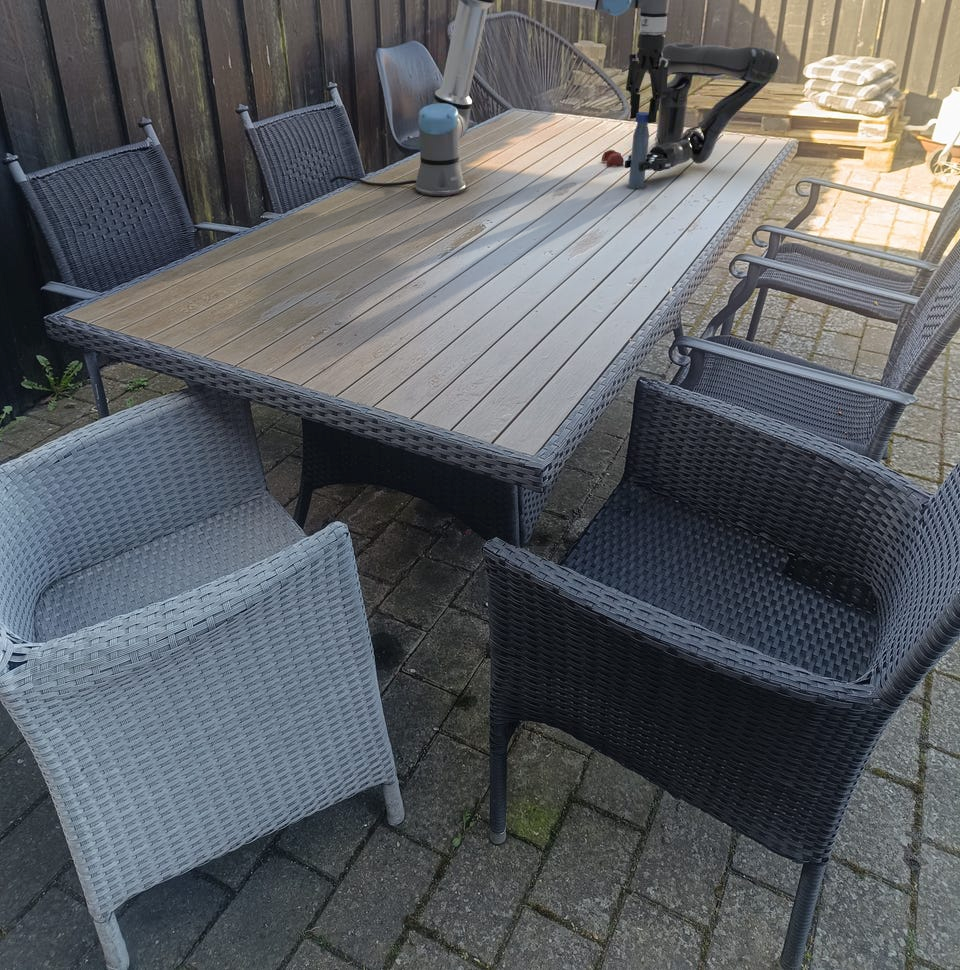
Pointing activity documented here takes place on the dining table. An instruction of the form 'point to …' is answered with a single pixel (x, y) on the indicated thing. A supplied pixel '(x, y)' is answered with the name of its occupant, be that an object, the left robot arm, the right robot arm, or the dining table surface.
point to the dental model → (612, 158)
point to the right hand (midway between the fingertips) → (632, 166)
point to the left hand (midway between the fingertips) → (642, 120)
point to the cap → (642, 117)
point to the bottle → (638, 155)
